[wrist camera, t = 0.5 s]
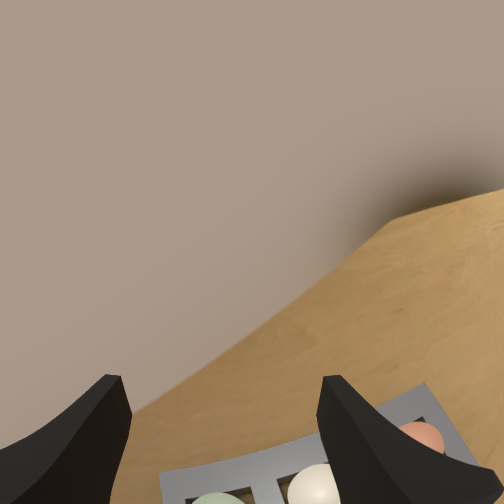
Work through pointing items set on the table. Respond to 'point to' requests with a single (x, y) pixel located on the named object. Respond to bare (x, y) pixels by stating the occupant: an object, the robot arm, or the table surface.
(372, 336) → the table surface
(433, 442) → the button terracotta
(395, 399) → the button board
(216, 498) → the button sage
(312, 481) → the button cream
